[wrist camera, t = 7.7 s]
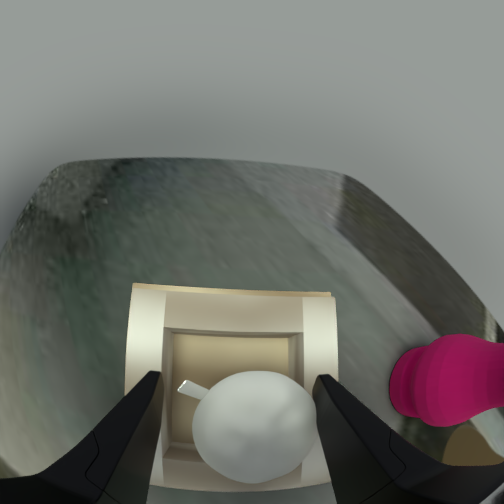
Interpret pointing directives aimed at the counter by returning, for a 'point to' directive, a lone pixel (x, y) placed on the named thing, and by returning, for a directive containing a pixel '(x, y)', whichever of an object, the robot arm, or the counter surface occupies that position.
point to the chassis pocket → (225, 365)
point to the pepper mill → (449, 380)
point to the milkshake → (253, 425)
